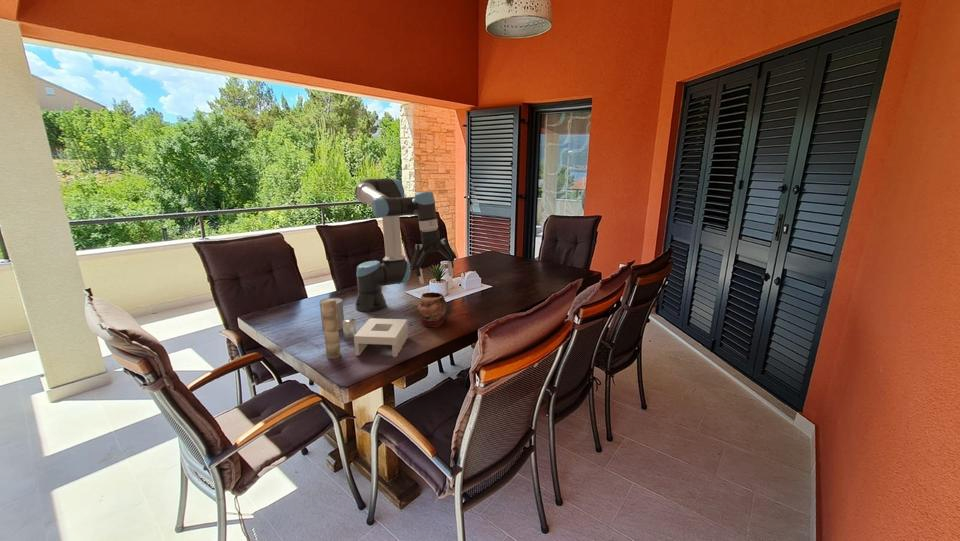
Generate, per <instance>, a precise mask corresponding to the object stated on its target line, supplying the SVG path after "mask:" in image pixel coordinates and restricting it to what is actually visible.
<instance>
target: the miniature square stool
mask: <svg viewBox="0 0 960 541" xmlns="http://www.w3.org/2000/svg"><path fill="white" fill-rule="evenodd" d="M408 331H409V328H408V319H406V318H405V319H403V318H402V319H398V318H371V317H370V318H369V319H368V320H367V321H366V322H365V323H364V324H363V325H362V326H361V328H360V329H359V330H358V331H356V334H355V335H354V340H353V341H354V344H353V345H354V356H360V355H361V354H362V352H363V351H364V350H365V349H366V348H367V347H368V345H383V346H384V345H388V346H391V348H392V349H391V352H392V358H397V357H398V355H399V354H398V353H400V352H401V350H402V348H403V347H402V346H404V345H405V343H406V341H407V340H406V339H408V337H409V332H408Z"/></svg>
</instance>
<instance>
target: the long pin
mask: <svg viewBox="0 0 960 541" xmlns="http://www.w3.org/2000/svg"><path fill="white" fill-rule="evenodd" d="M325 299H326V300H323V299H322V300H323V301H322V302H321V305H322V315H323V324H324V330H323V334H324V342H325V343H324V344H325V352H326V358H327V359H329V360H334V359H338V358H340V357H341V356H342V354H341V342H340V332H339V330H338V319H337V308H336V300H335V299H327V298H325Z"/></svg>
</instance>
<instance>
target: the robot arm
mask: <svg viewBox="0 0 960 541" xmlns="http://www.w3.org/2000/svg"><path fill="white" fill-rule="evenodd" d="M354 195H355V198H356V199H357V201H359V202H360V203H362V204H364V205H365V204H366V205H368V206H370V207H371V212H372V214H373V216H374V217H377V218H379V217H380V218H381V219H382V233H383V242H384V244H383V245H384V253H385V256H384V257H383V258H382V263H381V262H380V261H379V260H369V261H364V262H362V263H360V264H358V265H357V266H356V273H355V274H356V282H357V283H356V284H357V297H356V301H355V310H357V311H360V312H365V313H366V312H376V311H381V310H383V309H385V308H386V307H387V303H386V298H385V296H384V294H383V291H382V290H383V289H382V287H385V286H392V285H401V284H403V283H404V284H405V283H407V281H409V279H410V276H411V269H414V270H415V274H416V276H417V277H418V279H419V284H421V285H425V281H424V276H423V275H424V274H423V268H421V267H422V265H423V263H424V261H425V259H426V257H427V256H428V254H433V253H436V252H439V253H440V254H441V255H443V257H445V258H446V259H447V261H446V264H447V271H448V276H449V277H454V272H453V269H454V267H455V266H454V261H455V260H456V259H457V254H456V253H455V252H454V251H453V249H452V247H451V246H450V244H449V242H448V238H442V239H440V238H441V237H440V230H439V229H438V228H439V225H438V224H439V223H438V218H437V210H436V208H437V207H436V200H435V198H434V192H432V191H429V190H428V191H420V192H416V193H415V194H414V196H406V195H405V188H404V185H403V184H402V182H401V180H399V179H396V178H367V179H366V178H365V179H364V180H361V181H360V182H358V183H357V185H356V187H355V188H354ZM400 216H417V217H418V218H417V219H418V225H419V226H418V227H419V230H420V237H421V238H420V239H421V243H420V244H417V243H415V244H414V252H413V256H412V259H411V262H409V261H408V260H406V257H405V256H404V255H403V246H402V236H401V235H402V234H401V223H400ZM441 245H443V247H444V248H445V250H446V251H447V252H446V251H445V250H444V249H443V248H442V247H441ZM421 249H423V250H422V252H421V254H420V251H421ZM448 253H449V254H448ZM419 256H420V257H419Z"/></svg>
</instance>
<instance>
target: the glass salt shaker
mask: <svg viewBox="0 0 960 541" xmlns="http://www.w3.org/2000/svg"><path fill="white" fill-rule="evenodd" d="M342 324H343V328H342V333H343V340H344V341H346V342H347V341H348V342H349V341H354V335H355V334H356V333H357V331H356V327H357V326H356V318H352V317H349V318H348V317H347V318H344V320H343V321H342Z"/></svg>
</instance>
